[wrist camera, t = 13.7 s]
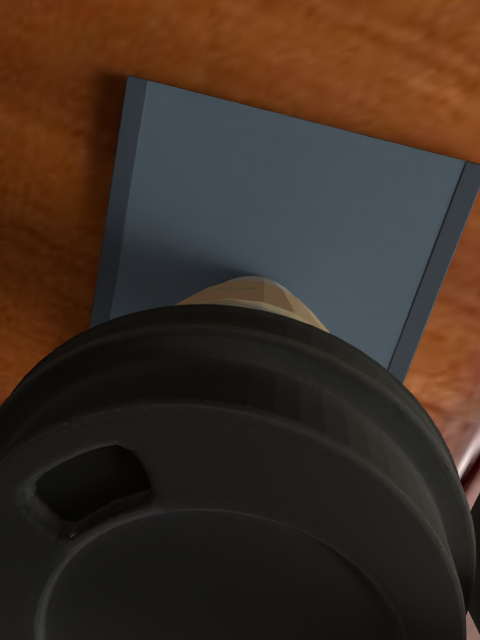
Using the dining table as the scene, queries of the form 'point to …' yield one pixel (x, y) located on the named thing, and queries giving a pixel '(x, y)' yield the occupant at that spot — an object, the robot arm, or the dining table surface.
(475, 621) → the robot arm
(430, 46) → the dining table surface
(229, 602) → the coffee cup
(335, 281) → the cup mat
